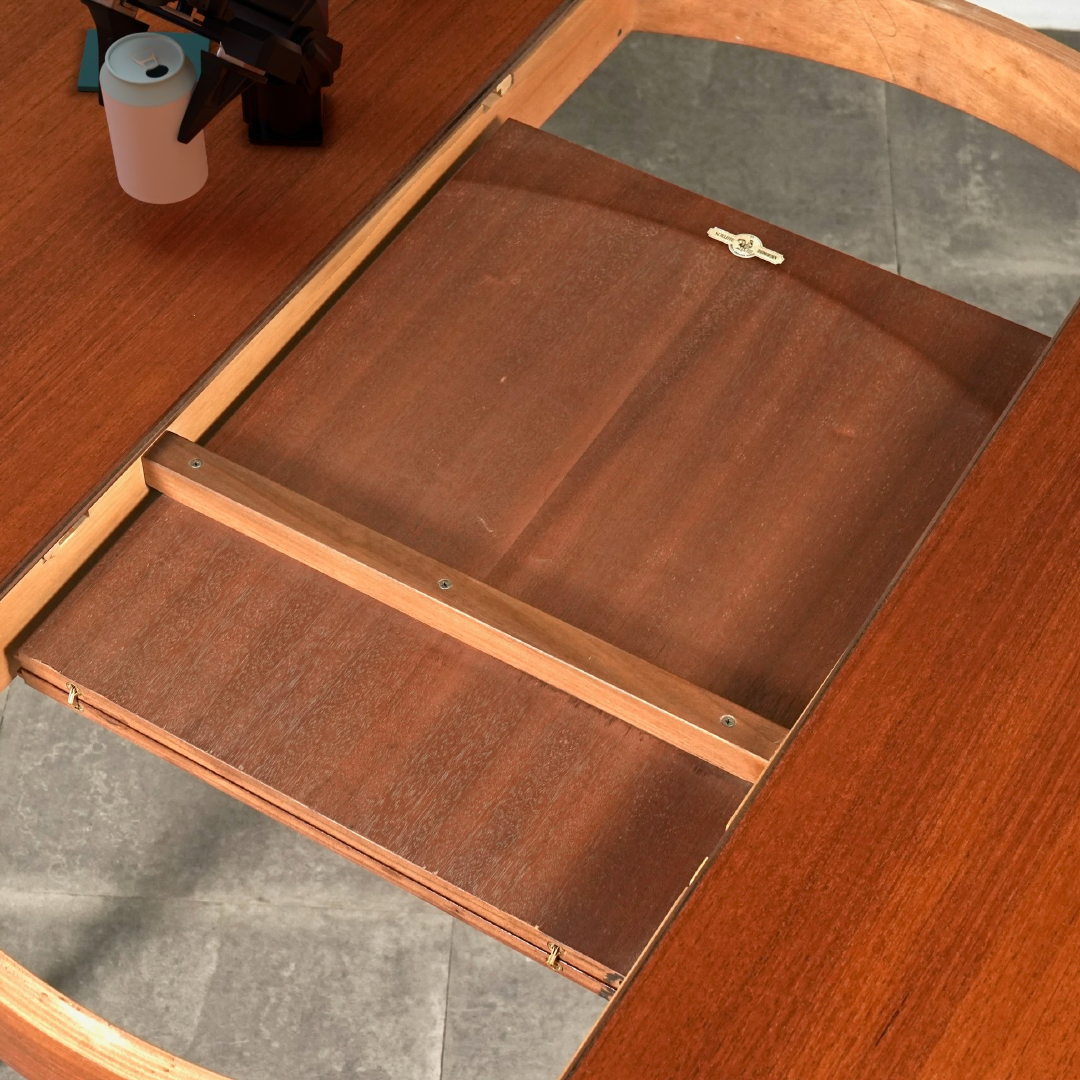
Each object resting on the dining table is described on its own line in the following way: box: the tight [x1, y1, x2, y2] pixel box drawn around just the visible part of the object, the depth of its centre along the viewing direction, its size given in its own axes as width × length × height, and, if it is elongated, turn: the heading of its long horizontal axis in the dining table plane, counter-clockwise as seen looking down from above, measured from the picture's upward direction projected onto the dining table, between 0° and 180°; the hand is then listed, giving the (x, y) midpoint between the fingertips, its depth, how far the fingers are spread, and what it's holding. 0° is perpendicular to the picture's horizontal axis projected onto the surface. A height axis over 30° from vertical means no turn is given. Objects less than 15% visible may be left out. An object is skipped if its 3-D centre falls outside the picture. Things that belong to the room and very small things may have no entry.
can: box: [100, 32, 209, 205], centre depth 122 cm, size 7×7×12 cm
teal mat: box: [76, 28, 212, 93], centre depth 143 cm, size 11×8×1 cm
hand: (142, 124), depth 121 cm, fingers closed on can, 7 cm apart
